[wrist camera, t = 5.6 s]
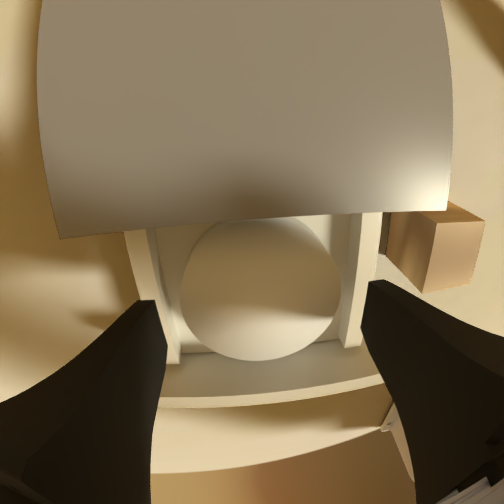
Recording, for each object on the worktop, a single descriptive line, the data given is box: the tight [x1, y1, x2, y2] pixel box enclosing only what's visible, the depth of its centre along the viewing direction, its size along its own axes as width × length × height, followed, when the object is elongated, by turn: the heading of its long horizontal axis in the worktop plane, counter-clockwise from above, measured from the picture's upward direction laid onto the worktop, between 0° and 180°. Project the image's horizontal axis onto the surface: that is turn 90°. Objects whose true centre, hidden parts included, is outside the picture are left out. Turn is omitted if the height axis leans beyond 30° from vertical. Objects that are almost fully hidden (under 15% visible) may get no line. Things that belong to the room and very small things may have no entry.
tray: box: [123, 212, 384, 408], centre depth 11 cm, size 10×11×4 cm
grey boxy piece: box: [37, 0, 453, 239], centre depth 7 cm, size 10×11×5 cm
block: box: [386, 201, 485, 293], centre depth 11 cm, size 3×3×4 cm
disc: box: [179, 217, 341, 361], centre depth 11 cm, size 6×6×2 cm
